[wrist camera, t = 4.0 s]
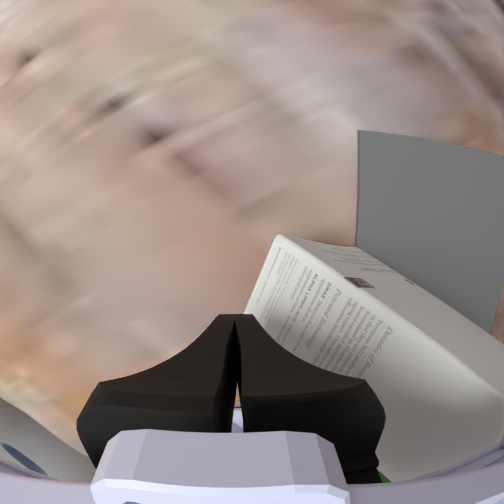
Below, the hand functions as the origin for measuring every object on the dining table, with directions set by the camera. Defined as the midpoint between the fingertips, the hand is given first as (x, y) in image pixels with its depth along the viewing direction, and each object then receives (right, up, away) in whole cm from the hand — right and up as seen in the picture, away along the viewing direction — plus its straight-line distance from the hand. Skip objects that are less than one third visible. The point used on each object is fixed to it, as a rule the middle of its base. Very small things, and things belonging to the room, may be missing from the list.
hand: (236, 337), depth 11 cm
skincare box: (+3, +1, +7) cm, 8 cm away
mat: (+16, +3, +10) cm, 18 cm away
